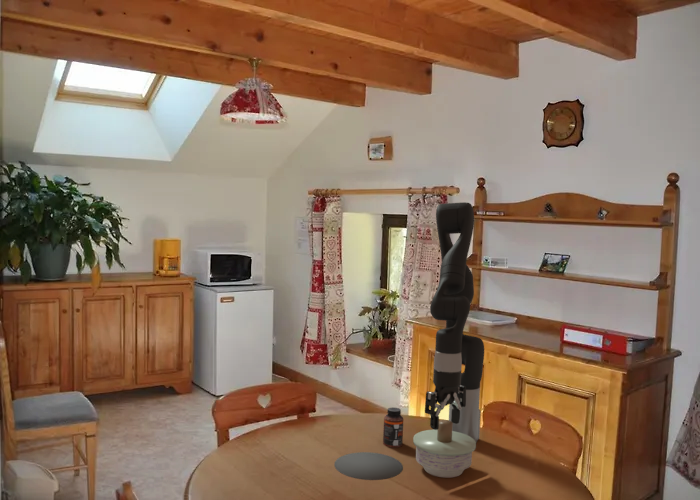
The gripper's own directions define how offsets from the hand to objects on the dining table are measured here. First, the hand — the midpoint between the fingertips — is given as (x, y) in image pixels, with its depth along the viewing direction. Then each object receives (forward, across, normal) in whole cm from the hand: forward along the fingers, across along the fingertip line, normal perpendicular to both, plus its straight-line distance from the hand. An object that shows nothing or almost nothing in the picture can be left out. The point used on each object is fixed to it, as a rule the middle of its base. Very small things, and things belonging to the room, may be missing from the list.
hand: (444, 425), depth 171 cm
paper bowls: (+13, 0, 0) cm, 13 cm away
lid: (+5, 0, 0) cm, 5 cm away
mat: (+13, +15, -14) cm, 24 cm away
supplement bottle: (+13, -2, -22) cm, 26 cm away
